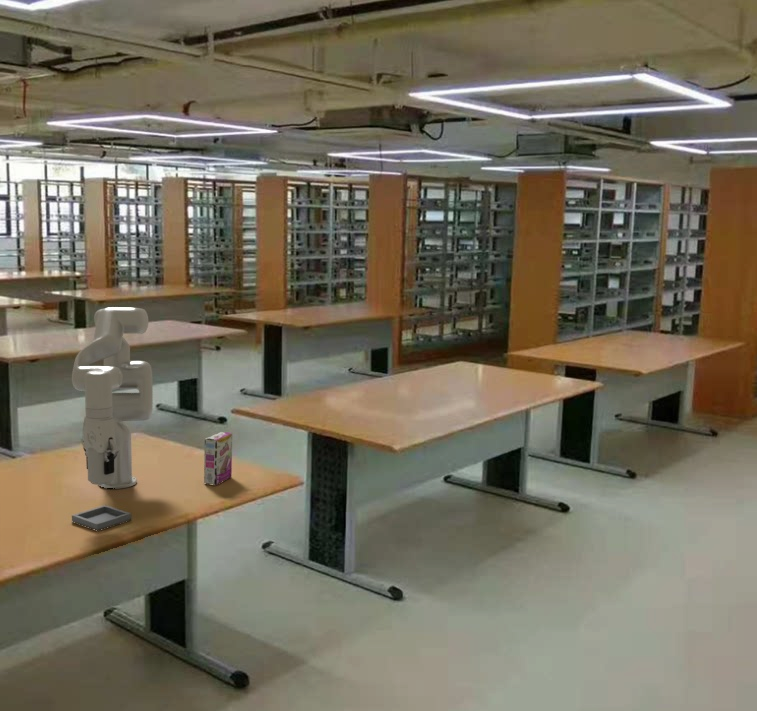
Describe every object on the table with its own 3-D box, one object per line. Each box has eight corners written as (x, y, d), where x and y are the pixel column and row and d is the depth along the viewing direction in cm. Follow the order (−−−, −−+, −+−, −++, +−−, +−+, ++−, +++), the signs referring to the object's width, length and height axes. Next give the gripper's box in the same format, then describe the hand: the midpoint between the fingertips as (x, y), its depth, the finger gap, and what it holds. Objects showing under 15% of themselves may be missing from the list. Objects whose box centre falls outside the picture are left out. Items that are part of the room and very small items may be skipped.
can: (119, 481, 248) (118, 442, 246) (96, 487, 242) (95, 447, 240) (106, 476, 253) (105, 437, 251) (83, 481, 247) (82, 442, 245)
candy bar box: (216, 486, 285) (216, 440, 282) (203, 484, 287) (203, 438, 284) (232, 477, 295) (232, 432, 293) (220, 475, 297) (220, 431, 295)
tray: (72, 522, 248) (71, 515, 247) (105, 511, 257) (105, 504, 257) (97, 531, 241) (97, 524, 241) (131, 520, 251) (131, 513, 250)
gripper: (69, 410, 246) (71, 468, 249) (107, 419, 236) (108, 479, 239) (91, 406, 252) (92, 463, 255) (128, 415, 242) (129, 473, 245)
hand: (100, 470), depth 247 cm, fingers closed on can, 7 cm apart
